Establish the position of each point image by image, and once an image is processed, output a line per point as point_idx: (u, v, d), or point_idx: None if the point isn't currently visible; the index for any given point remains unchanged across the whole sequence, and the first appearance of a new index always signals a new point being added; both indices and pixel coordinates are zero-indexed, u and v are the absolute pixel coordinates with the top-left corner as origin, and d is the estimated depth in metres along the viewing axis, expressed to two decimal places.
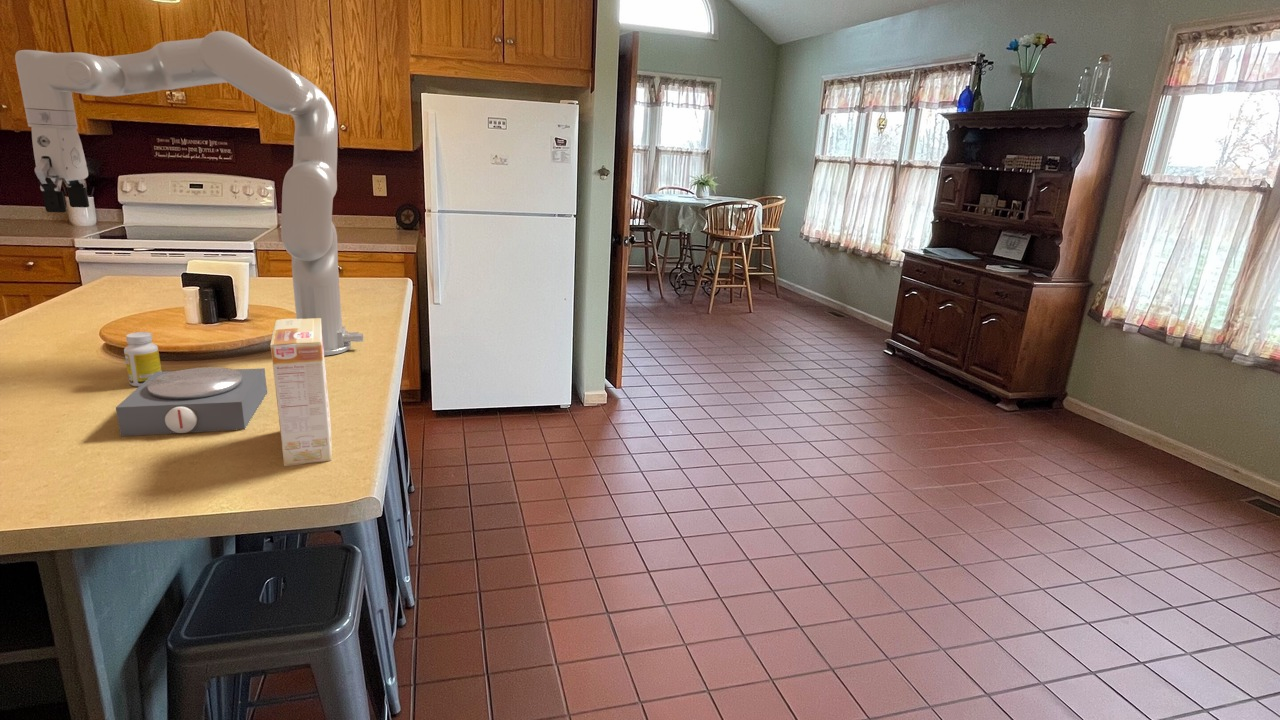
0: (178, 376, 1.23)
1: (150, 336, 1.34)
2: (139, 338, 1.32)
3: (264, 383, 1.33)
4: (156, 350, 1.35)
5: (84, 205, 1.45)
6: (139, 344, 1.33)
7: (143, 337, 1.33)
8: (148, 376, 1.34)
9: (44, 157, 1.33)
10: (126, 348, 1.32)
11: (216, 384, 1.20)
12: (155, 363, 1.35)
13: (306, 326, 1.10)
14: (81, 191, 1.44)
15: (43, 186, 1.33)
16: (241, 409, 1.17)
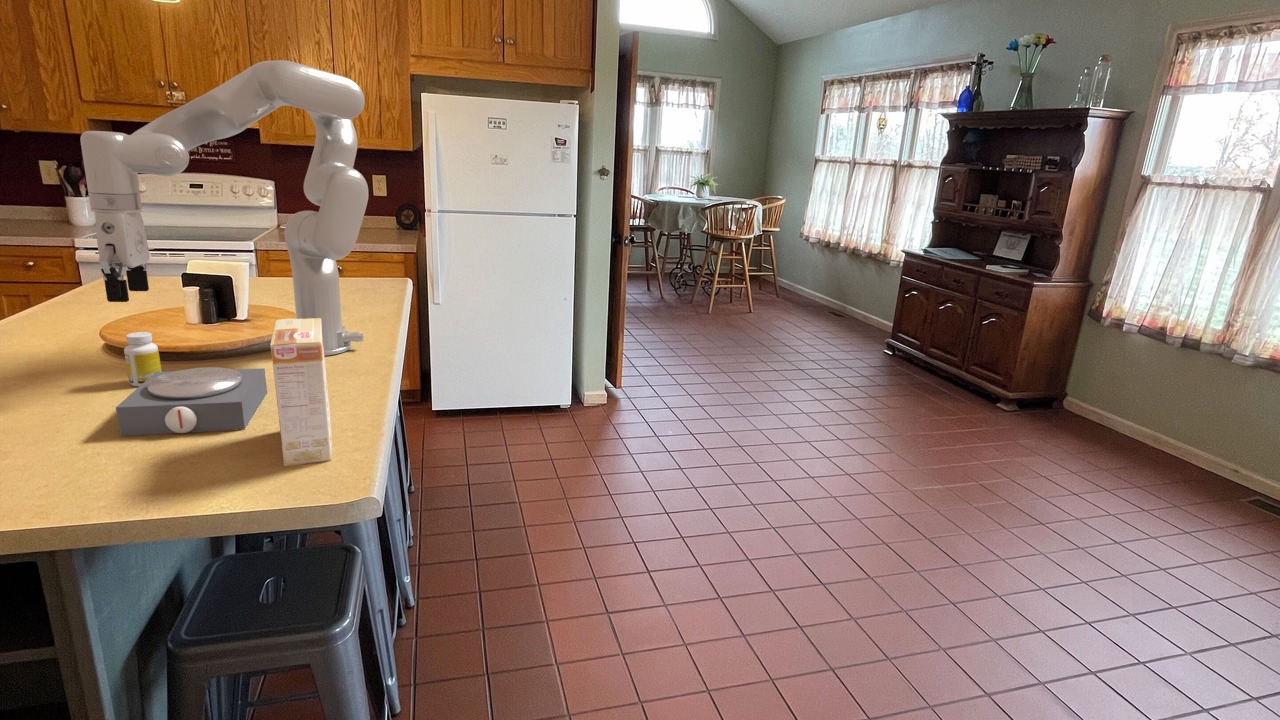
0: (178, 376, 1.23)
1: (150, 336, 1.34)
2: (139, 338, 1.32)
3: (264, 383, 1.33)
4: (156, 350, 1.35)
5: (144, 289, 1.35)
6: (139, 344, 1.33)
7: (143, 337, 1.33)
8: (148, 376, 1.34)
9: (108, 244, 1.23)
10: (126, 348, 1.32)
11: (216, 384, 1.20)
12: (155, 363, 1.35)
13: (306, 326, 1.10)
14: (141, 274, 1.34)
15: (106, 276, 1.23)
16: (241, 409, 1.17)
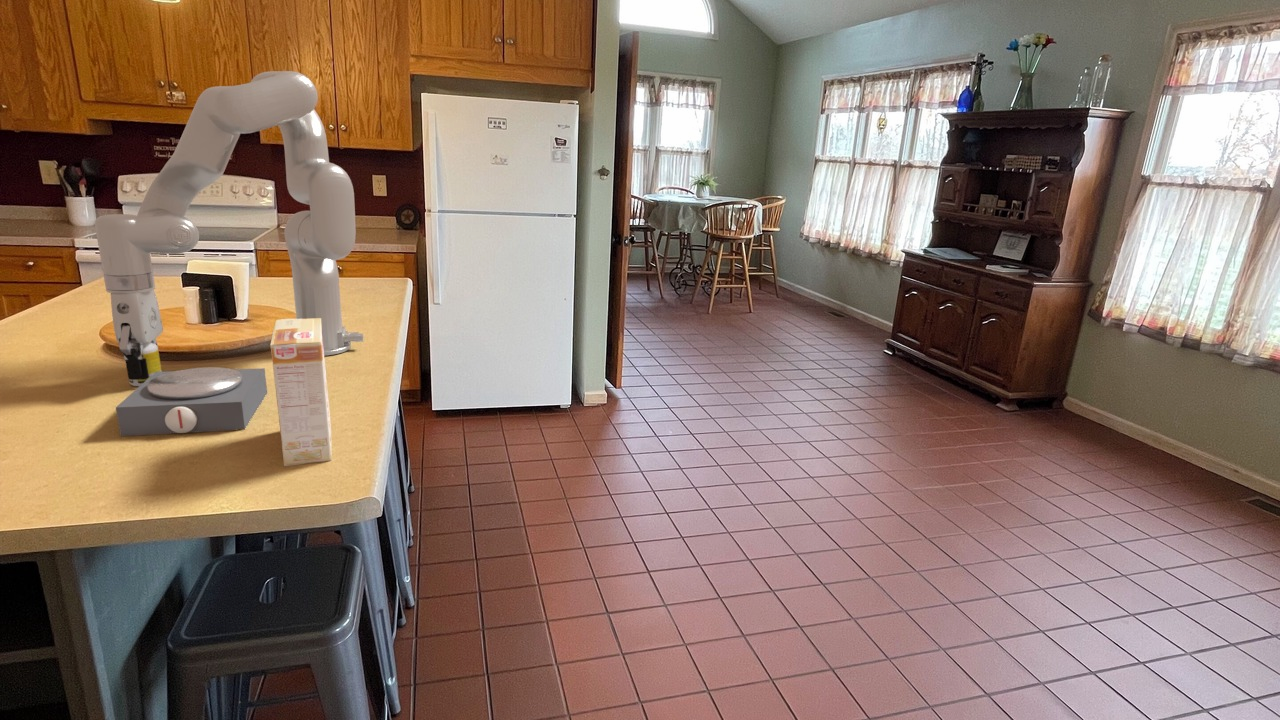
0: (178, 376, 1.23)
1: None
2: None
3: (264, 383, 1.33)
4: (156, 350, 1.35)
5: None
6: None
7: None
8: None
9: (124, 326, 1.28)
10: None
11: (216, 384, 1.20)
12: (155, 363, 1.35)
13: (306, 326, 1.10)
14: None
15: (127, 357, 1.30)
16: (241, 409, 1.17)
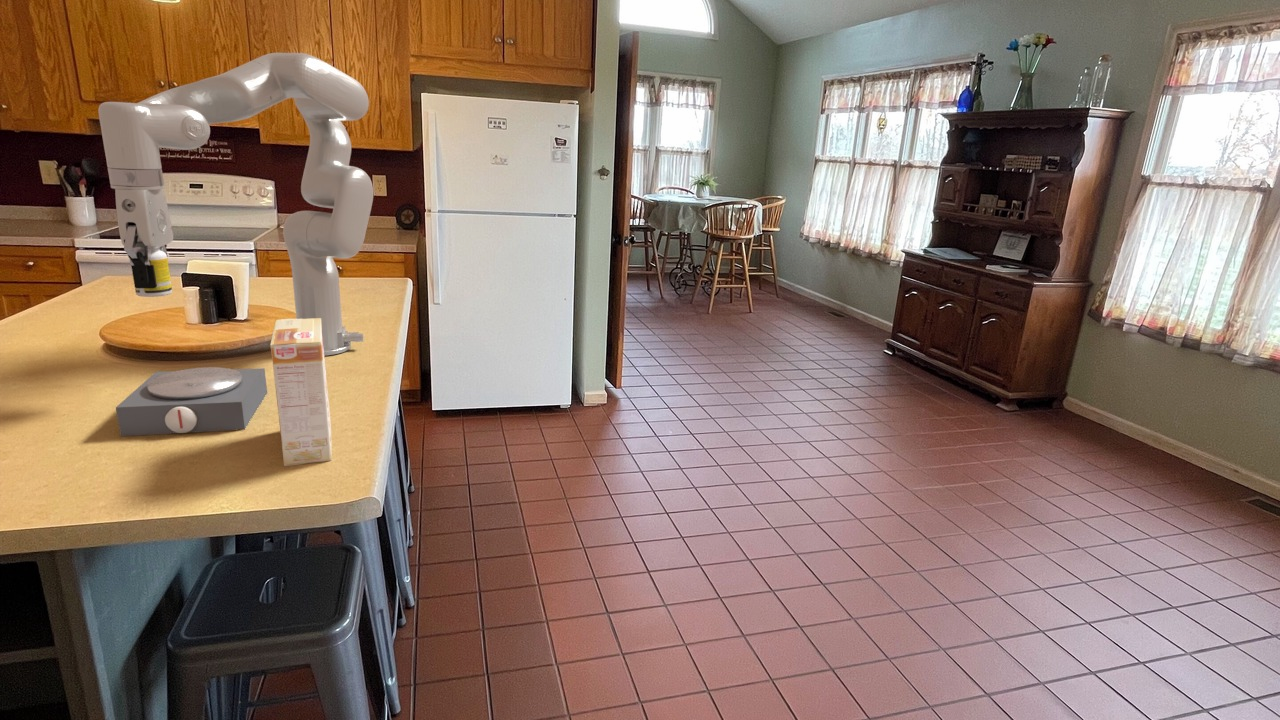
0: (178, 376, 1.23)
1: None
2: None
3: (264, 383, 1.33)
4: (165, 258, 1.23)
5: None
6: None
7: None
8: None
9: (130, 226, 1.16)
10: None
11: (216, 384, 1.20)
12: (164, 272, 1.23)
13: (306, 326, 1.10)
14: None
15: (133, 261, 1.18)
16: (241, 409, 1.17)
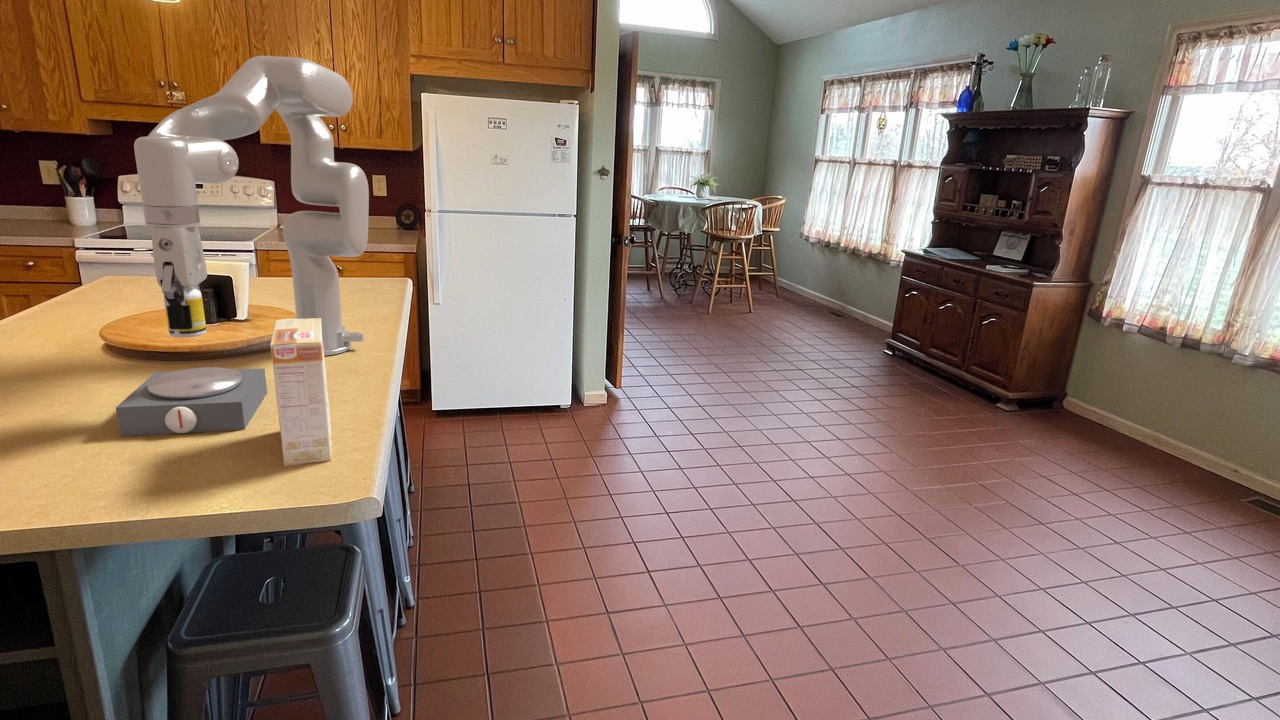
0: (178, 376, 1.23)
1: None
2: None
3: (264, 383, 1.33)
4: (200, 296, 1.18)
5: None
6: None
7: None
8: None
9: (166, 266, 1.11)
10: None
11: (216, 384, 1.20)
12: (199, 311, 1.18)
13: (306, 326, 1.10)
14: None
15: (169, 301, 1.13)
16: (241, 409, 1.17)
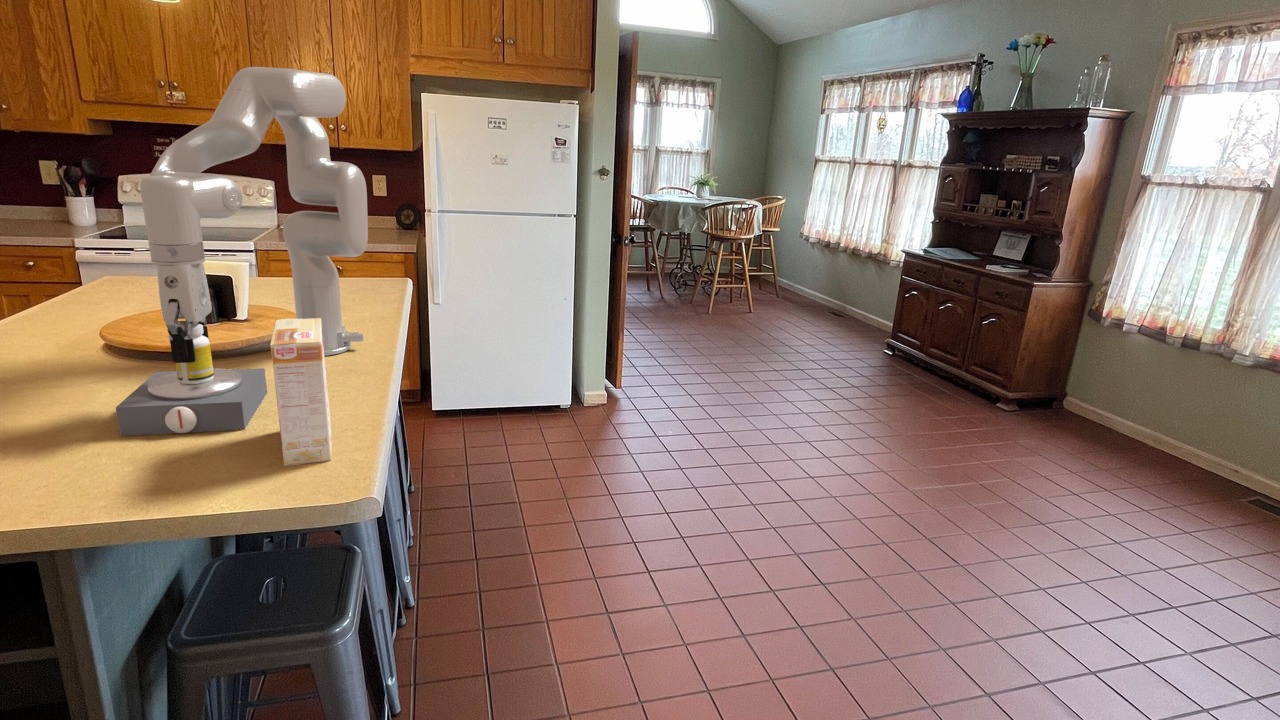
0: None
1: (202, 328, 1.20)
2: (190, 330, 1.18)
3: (264, 383, 1.33)
4: (208, 344, 1.21)
5: None
6: (190, 336, 1.19)
7: (194, 329, 1.19)
8: (199, 373, 1.20)
9: (172, 301, 1.13)
10: None
11: (216, 385, 1.20)
12: (207, 358, 1.21)
13: (306, 326, 1.10)
14: None
15: (173, 336, 1.14)
16: (241, 409, 1.17)
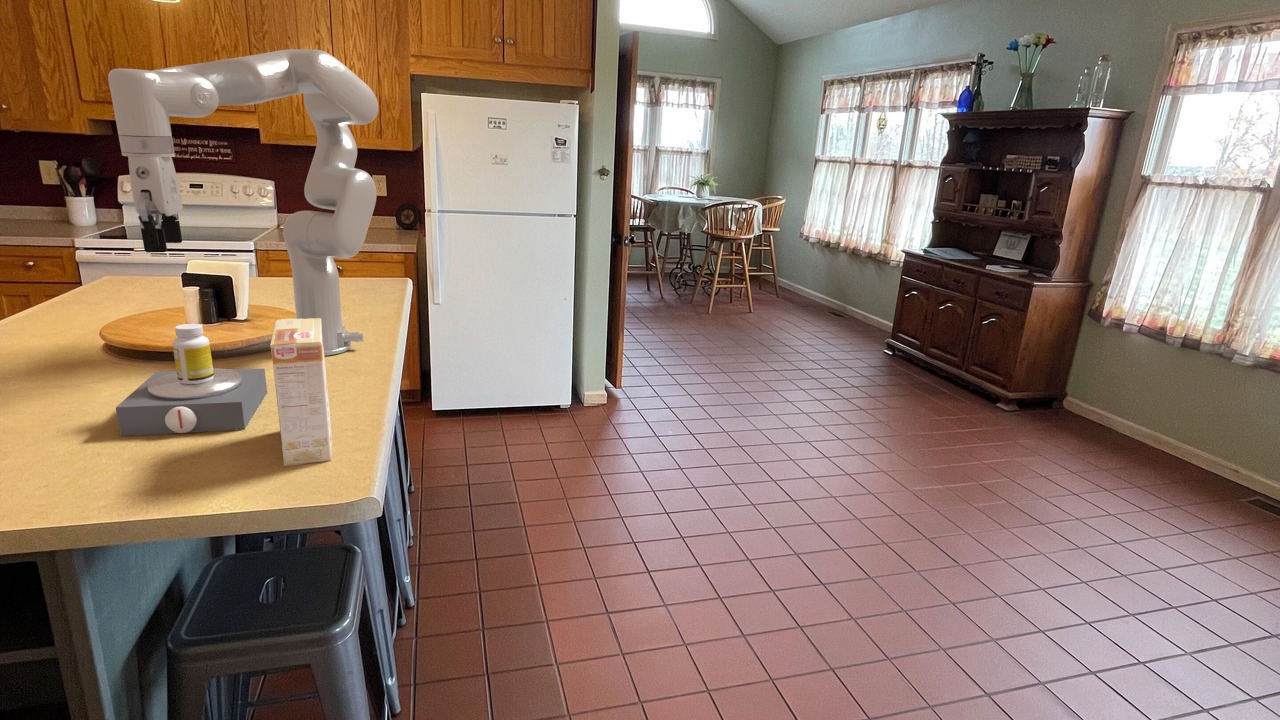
0: None
1: (201, 328, 1.20)
2: (189, 330, 1.18)
3: (264, 383, 1.33)
4: (208, 344, 1.21)
5: (177, 240, 1.29)
6: (190, 336, 1.19)
7: (194, 329, 1.19)
8: (199, 373, 1.20)
9: (143, 191, 1.17)
10: (175, 341, 1.18)
11: (216, 385, 1.20)
12: (207, 358, 1.21)
13: (306, 326, 1.10)
14: (174, 225, 1.28)
15: (144, 224, 1.17)
16: (241, 409, 1.17)
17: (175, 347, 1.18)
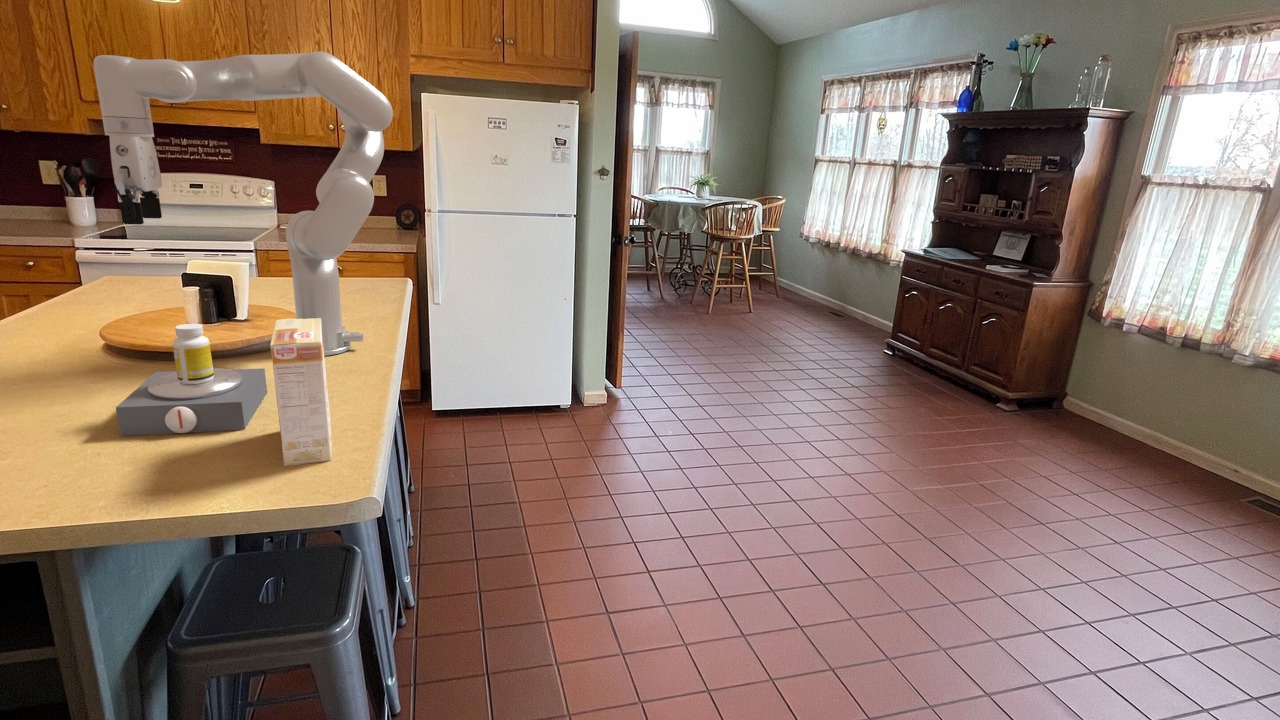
0: None
1: (201, 328, 1.20)
2: (189, 330, 1.18)
3: (264, 383, 1.33)
4: (208, 344, 1.21)
5: (157, 216, 1.39)
6: (190, 336, 1.19)
7: (194, 329, 1.19)
8: (199, 373, 1.20)
9: (122, 167, 1.27)
10: (175, 341, 1.18)
11: (216, 385, 1.20)
12: (207, 358, 1.21)
13: (306, 326, 1.10)
14: (154, 201, 1.38)
15: (122, 197, 1.27)
16: (241, 409, 1.17)
17: (175, 347, 1.18)
